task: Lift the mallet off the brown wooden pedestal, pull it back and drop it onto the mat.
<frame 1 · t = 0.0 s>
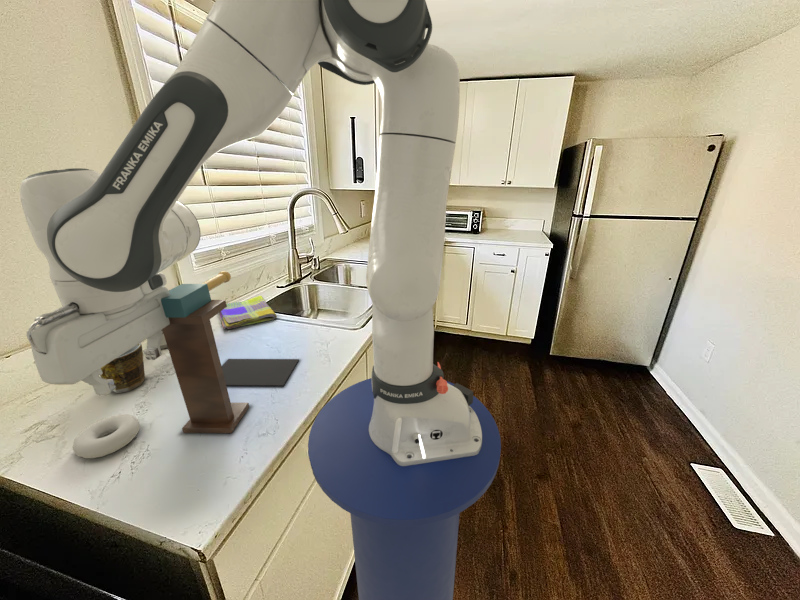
hand: (132, 373, 51), 20 cm above the worktop, tool pointing down, fingers open, 8 cm apart
mallet: (158, 325, 53), point 26 cm above the worktop, touching brown wooden pedestal
mat: (254, 372, 86), on the worktop
donut: (111, 442, 64), on the worktop
brown wooden pedestal: (216, 420, 69), on the worktop
ceramic cup: (126, 388, 80), on the worktop
dish towel: (246, 314, 122), on the worktop
travel mug: (164, 344, 101), on the worktop
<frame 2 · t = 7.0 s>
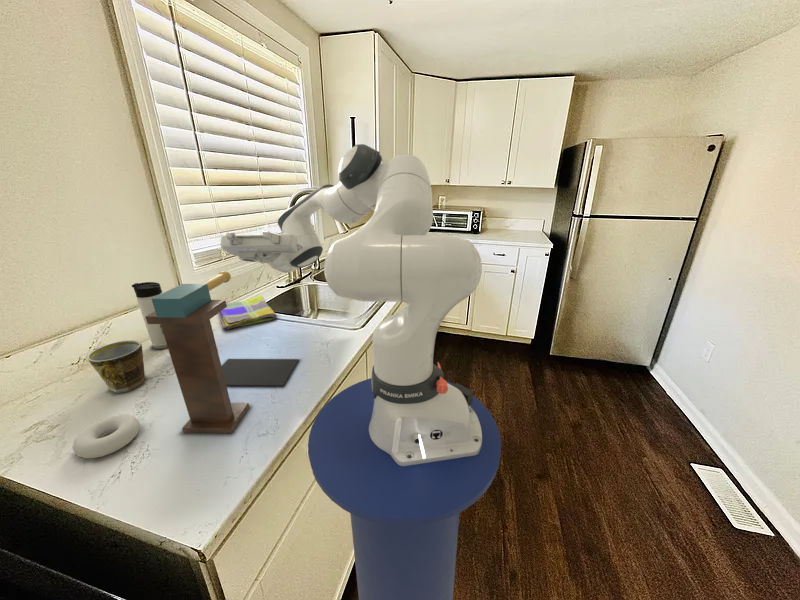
hand: (247, 234, 83), 35 cm above the worktop, tool pointing upward, fingers open, 8 cm apart
nothing on the worktop moved.
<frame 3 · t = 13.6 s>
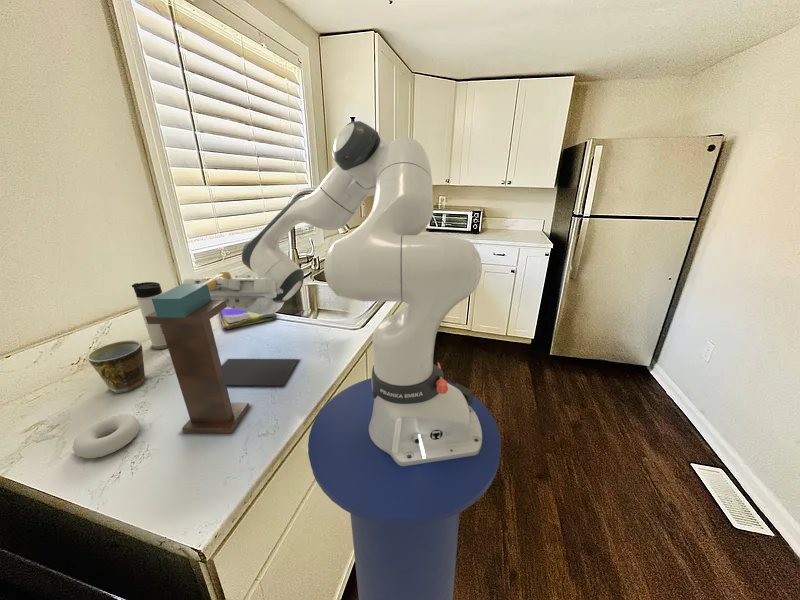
hand: (211, 281, 68), 28 cm above the worktop, tool pointing upward, fingers closed on mallet, 2 cm apart
mallet: (158, 325, 53), point 26 cm above the worktop, touching gripper, brown wooden pedestal
everything else where it was.
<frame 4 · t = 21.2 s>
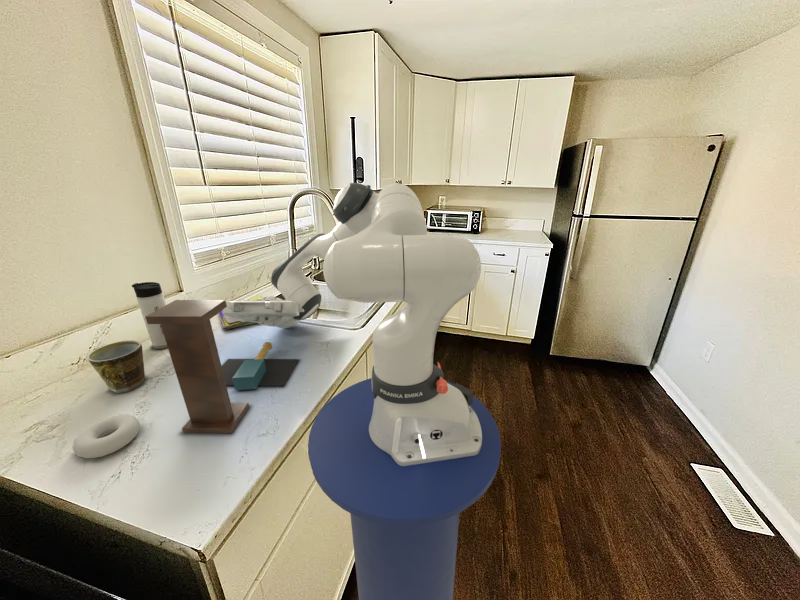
hand: (249, 305, 83), 18 cm above the worktop, tool pointing upward, fingers open, 8 cm apart
mallet: (240, 397, 76), on the worktop, touching mat
everything else where it was.
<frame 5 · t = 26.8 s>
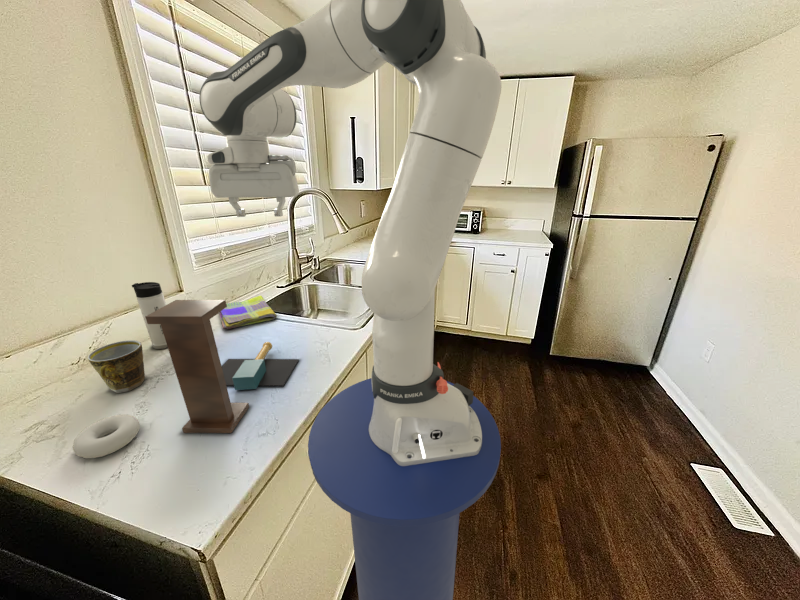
hand: (260, 216, 81), 39 cm above the worktop, tool pointing down, fingers open, 8 cm apart
nothing on the worktop moved.
at the end: mallet inside the target area on the mat (10.9 cm from its centre), point 0.4 cm above the mat's base; the gripper is holding nothing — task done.
